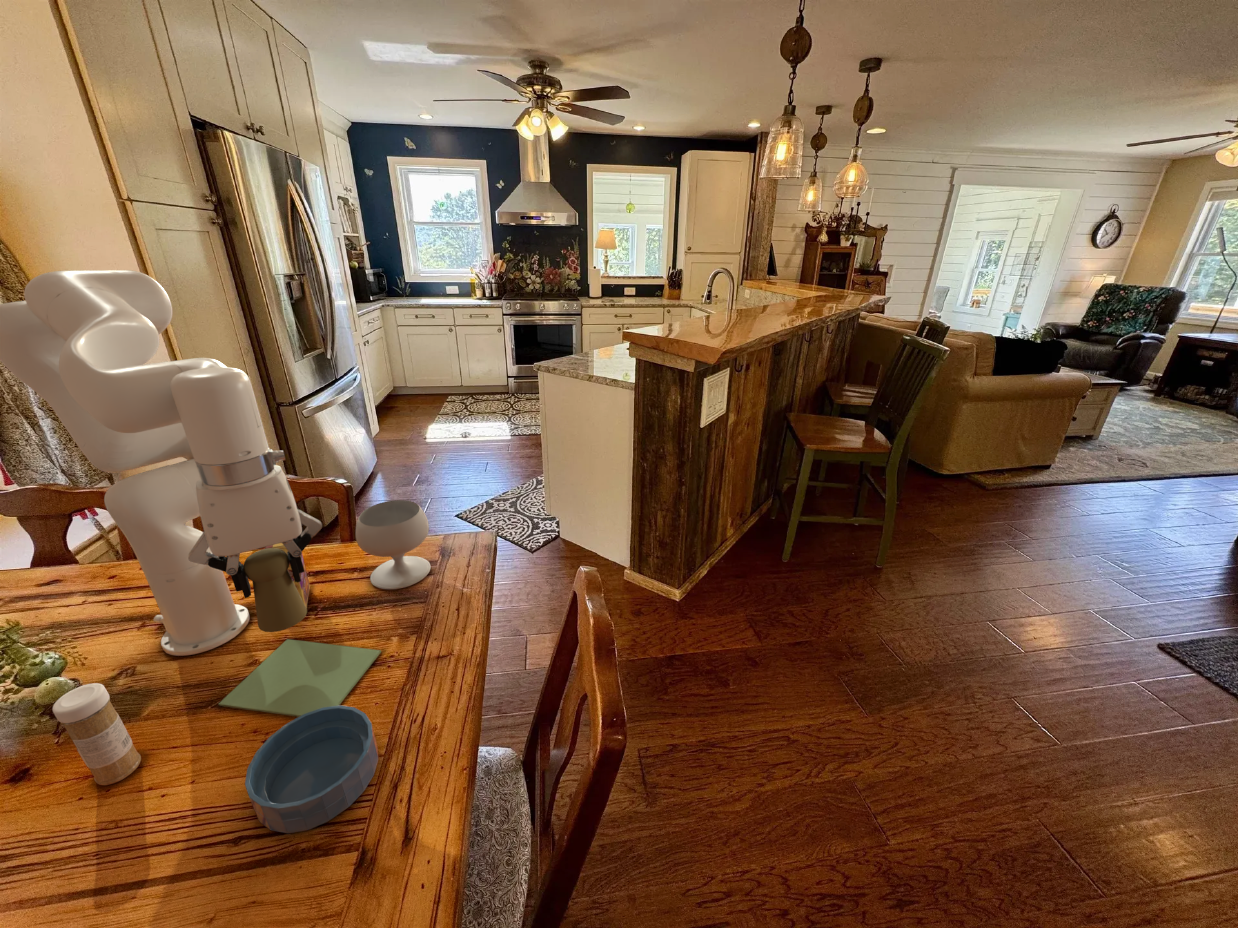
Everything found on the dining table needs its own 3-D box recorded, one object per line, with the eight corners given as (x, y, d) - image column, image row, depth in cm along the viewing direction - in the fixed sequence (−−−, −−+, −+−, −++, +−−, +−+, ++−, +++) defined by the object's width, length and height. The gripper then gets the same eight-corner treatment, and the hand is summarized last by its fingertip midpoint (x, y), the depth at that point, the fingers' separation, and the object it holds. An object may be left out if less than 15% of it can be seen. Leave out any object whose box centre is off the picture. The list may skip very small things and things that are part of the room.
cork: (283, 635, 68) (263, 569, 64) (247, 628, 70) (224, 563, 65) (316, 607, 74) (300, 545, 70) (282, 601, 75) (263, 539, 71)
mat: (218, 705, 75) (218, 703, 75) (287, 640, 88) (287, 638, 88) (326, 720, 73) (326, 718, 73) (381, 651, 86) (381, 650, 86)
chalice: (373, 559, 112) (360, 500, 106) (438, 552, 115) (429, 494, 109) (358, 597, 99) (343, 533, 93) (431, 588, 102) (421, 525, 96)
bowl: (227, 825, 60) (215, 797, 58) (309, 724, 72) (301, 699, 70) (334, 843, 58) (324, 816, 56) (398, 737, 71) (393, 712, 69)
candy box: (308, 612, 95) (289, 544, 89) (282, 618, 93) (261, 549, 87) (312, 586, 102) (295, 522, 96) (288, 591, 101) (268, 526, 95)
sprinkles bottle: (110, 758, 67) (69, 685, 62) (150, 751, 68) (112, 678, 63) (86, 791, 63) (40, 715, 58) (129, 782, 64) (87, 707, 59)
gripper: (310, 445, 70) (336, 553, 77) (150, 472, 60) (196, 593, 67) (318, 462, 64) (345, 577, 71) (143, 495, 55) (194, 623, 62)
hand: (272, 583), depth 69 cm, fingers closed on cork, 5 cm apart
